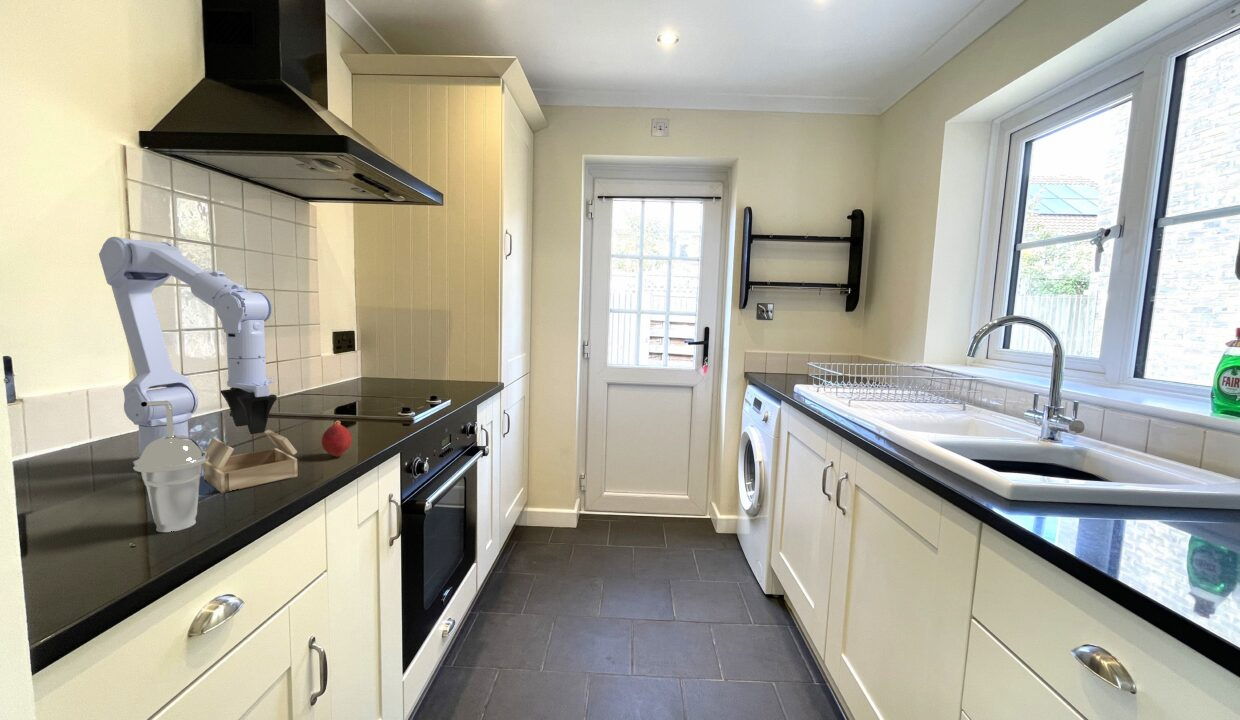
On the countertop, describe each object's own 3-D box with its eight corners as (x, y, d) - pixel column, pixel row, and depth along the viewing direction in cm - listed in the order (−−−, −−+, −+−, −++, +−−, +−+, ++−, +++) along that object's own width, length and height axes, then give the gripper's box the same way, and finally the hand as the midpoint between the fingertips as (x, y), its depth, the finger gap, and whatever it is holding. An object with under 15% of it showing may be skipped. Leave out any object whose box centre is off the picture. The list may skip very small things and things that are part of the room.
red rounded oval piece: (339, 462, 108) (338, 425, 107) (315, 459, 109) (314, 422, 108) (358, 454, 113) (357, 419, 112) (335, 451, 115) (335, 417, 114)
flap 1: (206, 457, 95) (201, 456, 94) (217, 439, 96) (212, 437, 95) (222, 468, 89) (217, 467, 89) (234, 449, 90) (229, 447, 90)
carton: (203, 478, 95) (202, 460, 95) (276, 464, 105) (275, 447, 104) (222, 494, 89) (221, 474, 88) (298, 476, 98) (298, 459, 98)
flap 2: (264, 431, 102) (268, 429, 102) (275, 445, 103) (279, 442, 104) (282, 440, 96) (286, 438, 97) (293, 454, 98) (297, 452, 99)
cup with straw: (226, 518, 80) (220, 392, 77) (162, 544, 71) (153, 403, 69) (185, 510, 82) (178, 387, 79) (117, 535, 73) (107, 397, 71)
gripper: (287, 359, 93) (289, 432, 95) (257, 352, 102) (260, 419, 103) (240, 362, 87) (244, 439, 89) (213, 354, 96) (217, 425, 98)
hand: (249, 429), depth 96 cm, fingers open, 7 cm apart
